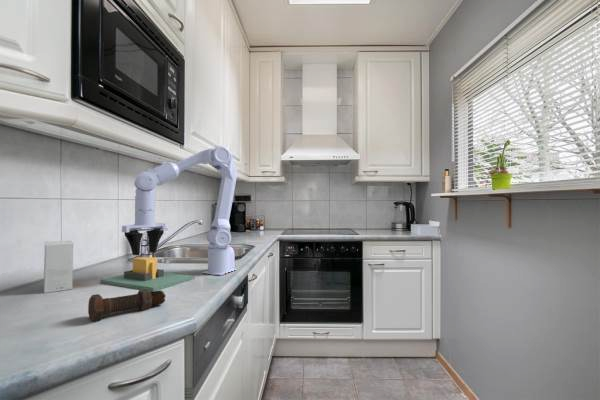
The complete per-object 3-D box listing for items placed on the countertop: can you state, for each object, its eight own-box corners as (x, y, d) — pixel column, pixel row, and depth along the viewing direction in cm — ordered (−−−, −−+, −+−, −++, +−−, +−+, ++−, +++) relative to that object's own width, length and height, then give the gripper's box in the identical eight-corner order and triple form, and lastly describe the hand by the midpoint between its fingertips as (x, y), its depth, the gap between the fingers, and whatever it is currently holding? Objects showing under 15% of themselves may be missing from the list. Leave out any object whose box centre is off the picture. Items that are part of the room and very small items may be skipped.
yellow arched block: (143, 274, 103) (143, 256, 104) (159, 277, 101) (159, 258, 101) (132, 277, 100) (132, 258, 100) (148, 279, 97) (148, 260, 97)
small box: (72, 289, 89) (73, 243, 90) (43, 293, 85) (44, 244, 86) (70, 283, 96) (71, 240, 96) (43, 287, 92) (44, 242, 92)
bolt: (164, 313, 76) (91, 328, 66) (157, 298, 79) (86, 310, 69) (170, 294, 74) (96, 306, 64) (162, 280, 78) (91, 289, 67)
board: (145, 272, 111) (145, 264, 111) (194, 278, 103) (194, 269, 103) (100, 283, 97) (100, 273, 97) (153, 291, 88) (153, 280, 88)
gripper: (154, 210, 109) (154, 249, 109) (115, 210, 96) (114, 256, 96) (170, 210, 106) (169, 251, 106) (131, 211, 93) (130, 257, 93)
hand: (144, 253), depth 101 cm, fingers open, 6 cm apart
